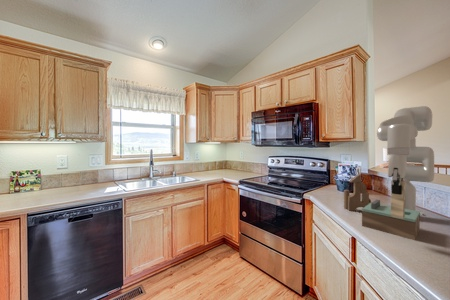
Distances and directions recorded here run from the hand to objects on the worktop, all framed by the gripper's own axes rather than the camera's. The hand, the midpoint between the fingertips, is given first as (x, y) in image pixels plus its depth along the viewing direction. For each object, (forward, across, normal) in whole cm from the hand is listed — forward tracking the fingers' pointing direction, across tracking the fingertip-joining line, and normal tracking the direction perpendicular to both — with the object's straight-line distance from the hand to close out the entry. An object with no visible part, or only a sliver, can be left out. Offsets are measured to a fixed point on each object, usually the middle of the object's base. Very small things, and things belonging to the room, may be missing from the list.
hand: (397, 192), depth 86 cm
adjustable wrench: (+23, -63, -4) cm, 67 cm away
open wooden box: (+23, -14, -5) cm, 27 cm away
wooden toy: (+23, -36, -26) cm, 50 cm away
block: (+11, 0, 0) cm, 11 cm away
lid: (+13, -14, -5) cm, 20 cm away
